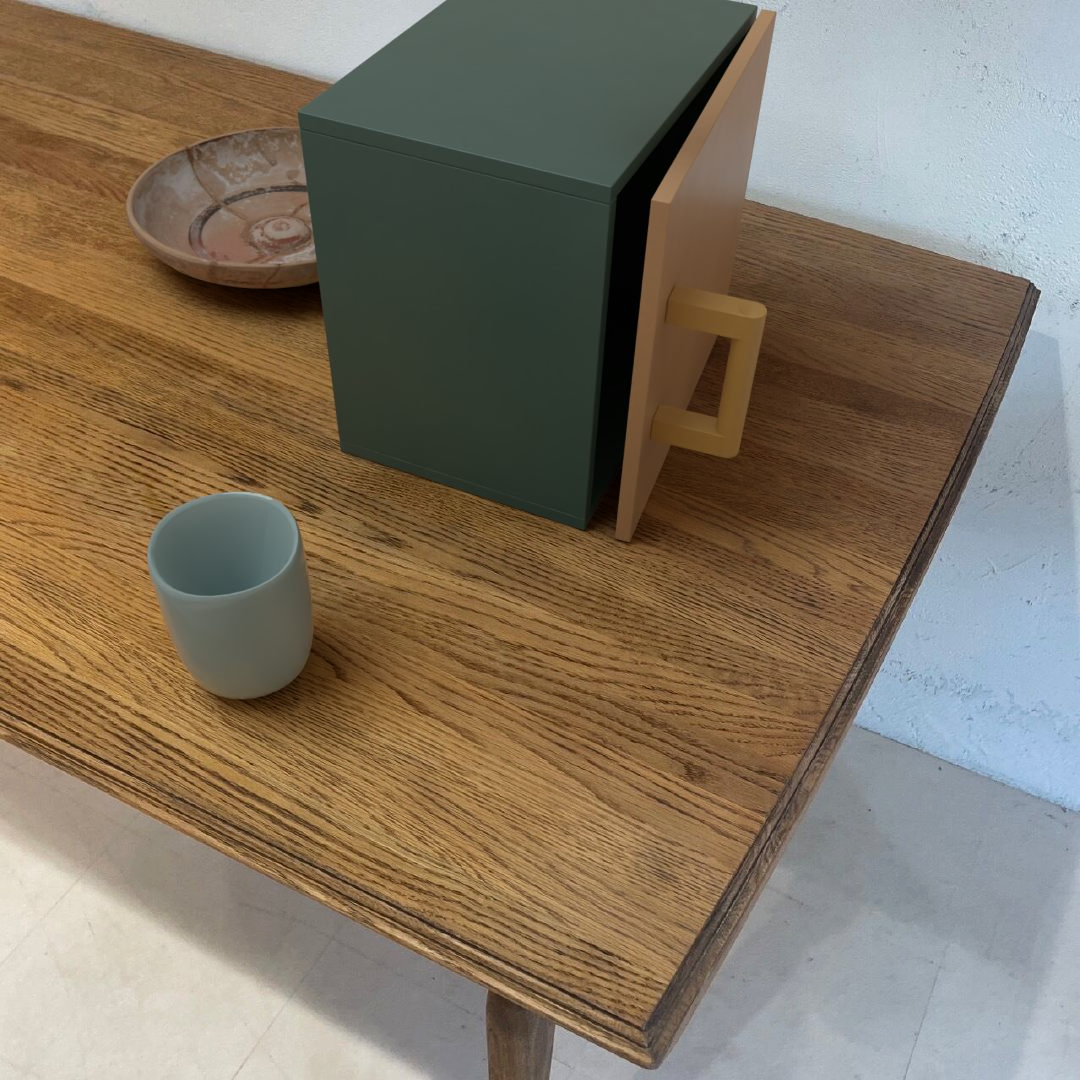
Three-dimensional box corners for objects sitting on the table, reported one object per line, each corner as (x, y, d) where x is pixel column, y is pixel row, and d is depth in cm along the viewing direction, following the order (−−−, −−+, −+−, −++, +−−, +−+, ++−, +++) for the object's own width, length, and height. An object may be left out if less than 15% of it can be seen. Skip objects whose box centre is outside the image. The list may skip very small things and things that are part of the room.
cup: (180, 625, 67) (143, 502, 60) (314, 602, 68) (293, 479, 61) (186, 733, 61) (145, 612, 54) (331, 706, 63) (309, 584, 56)
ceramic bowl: (471, 272, 94) (470, 217, 90) (192, 354, 85) (179, 297, 81) (354, 152, 107) (349, 100, 104) (104, 212, 99) (89, 158, 95)
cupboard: (708, 319, 90) (758, 5, 73) (584, 531, 73) (611, 186, 56) (501, 264, 95) (502, -44, 77) (340, 451, 78) (296, 111, 61)
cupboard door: (790, 336, 88) (860, 24, 71) (711, 565, 71) (778, 224, 54) (711, 319, 90) (761, 8, 73) (614, 539, 72) (651, 198, 55)
